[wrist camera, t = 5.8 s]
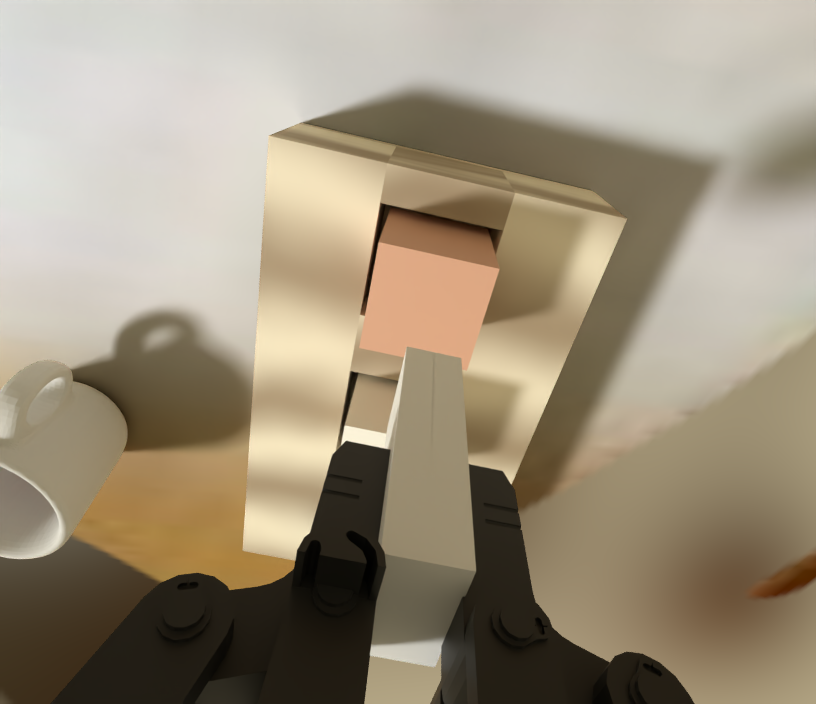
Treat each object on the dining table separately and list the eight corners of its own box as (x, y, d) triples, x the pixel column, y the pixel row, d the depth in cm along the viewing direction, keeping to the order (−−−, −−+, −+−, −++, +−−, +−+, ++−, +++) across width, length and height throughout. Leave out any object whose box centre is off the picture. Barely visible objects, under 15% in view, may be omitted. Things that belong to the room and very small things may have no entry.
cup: (19, 305, 29) (-116, 381, 22) (158, 352, 30) (72, 439, 23) (21, 439, 34) (-87, 535, 27) (139, 475, 35) (65, 577, 28)
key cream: (360, 365, 25) (344, 425, 21) (442, 382, 25) (442, 445, 21) (348, 429, 27) (331, 495, 23) (423, 444, 27) (421, 513, 23)
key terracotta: (391, 206, 21) (378, 242, 17) (488, 229, 21) (499, 269, 17) (373, 296, 23) (359, 348, 19) (462, 315, 23) (466, 370, 19)
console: (301, 122, 23) (268, 135, 18) (593, 190, 24) (627, 219, 19) (267, 490, 35) (242, 550, 30) (461, 527, 36) (464, 591, 31)
